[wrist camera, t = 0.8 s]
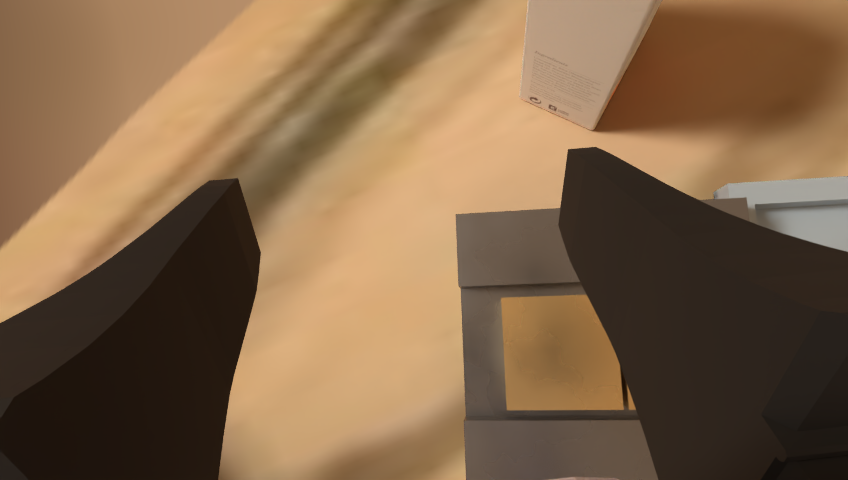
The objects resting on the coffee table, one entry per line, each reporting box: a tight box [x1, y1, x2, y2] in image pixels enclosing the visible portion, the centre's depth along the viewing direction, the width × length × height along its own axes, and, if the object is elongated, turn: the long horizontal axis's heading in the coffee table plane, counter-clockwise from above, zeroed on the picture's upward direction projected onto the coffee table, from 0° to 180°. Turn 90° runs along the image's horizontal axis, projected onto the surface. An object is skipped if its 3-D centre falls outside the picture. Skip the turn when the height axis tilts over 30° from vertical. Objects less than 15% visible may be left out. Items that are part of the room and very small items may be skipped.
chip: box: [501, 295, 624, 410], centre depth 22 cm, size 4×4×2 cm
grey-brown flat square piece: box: [456, 197, 750, 480], centre depth 23 cm, size 12×12×3 cm
